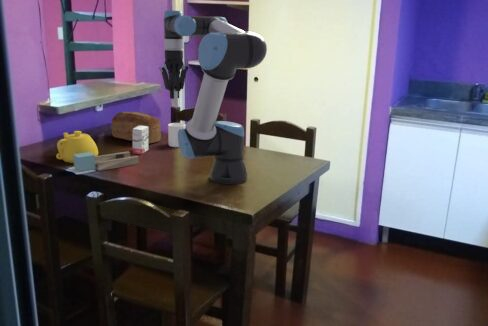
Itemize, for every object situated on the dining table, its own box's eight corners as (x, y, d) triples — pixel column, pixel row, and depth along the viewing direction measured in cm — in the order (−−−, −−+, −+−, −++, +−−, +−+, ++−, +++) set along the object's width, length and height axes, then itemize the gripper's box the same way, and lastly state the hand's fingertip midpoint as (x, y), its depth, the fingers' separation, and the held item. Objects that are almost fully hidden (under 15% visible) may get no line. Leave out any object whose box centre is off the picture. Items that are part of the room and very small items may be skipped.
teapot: (105, 159, 222) (104, 131, 219) (66, 167, 209) (64, 138, 205) (82, 150, 235) (80, 124, 232) (44, 157, 222) (41, 130, 218)
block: (95, 168, 207) (94, 155, 205) (78, 171, 203) (77, 157, 201) (90, 165, 211) (89, 152, 209) (74, 168, 207) (73, 154, 205)
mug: (192, 143, 254) (192, 122, 251) (179, 148, 244) (179, 127, 240) (178, 141, 257) (177, 120, 254) (165, 146, 247) (164, 125, 244)
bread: (149, 146, 246) (148, 118, 242) (108, 138, 259) (107, 111, 255) (164, 141, 256) (164, 114, 252) (124, 133, 269) (123, 107, 265)
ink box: (142, 154, 231) (141, 129, 228) (132, 153, 232) (131, 128, 229) (149, 149, 240) (148, 125, 236) (139, 148, 241) (138, 125, 237)
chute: (138, 164, 217) (138, 156, 215) (99, 170, 206) (98, 162, 205) (128, 158, 224) (128, 151, 223) (90, 164, 213) (89, 157, 212)
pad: (95, 171, 205) (95, 171, 205) (76, 174, 200) (76, 174, 200) (86, 165, 213) (86, 164, 212) (68, 168, 208) (68, 167, 208)
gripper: (182, 48, 210) (183, 103, 217) (155, 49, 202) (156, 106, 209) (192, 49, 205) (192, 106, 211) (164, 50, 197) (165, 108, 203)
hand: (174, 106), depth 210 cm, fingers closed
